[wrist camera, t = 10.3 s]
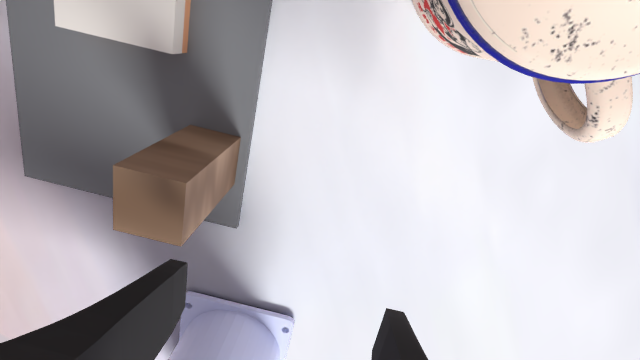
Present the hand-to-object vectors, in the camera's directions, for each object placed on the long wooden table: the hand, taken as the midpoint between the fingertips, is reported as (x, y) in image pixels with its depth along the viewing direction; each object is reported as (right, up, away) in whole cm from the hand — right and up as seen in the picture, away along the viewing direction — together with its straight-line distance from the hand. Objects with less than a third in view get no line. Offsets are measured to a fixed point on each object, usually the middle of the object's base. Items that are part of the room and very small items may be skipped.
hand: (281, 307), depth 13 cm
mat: (-9, +10, +8) cm, 16 cm away
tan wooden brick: (-5, +6, +8) cm, 11 cm away
